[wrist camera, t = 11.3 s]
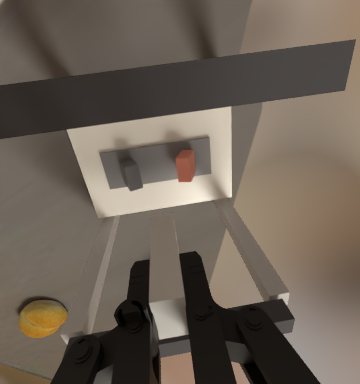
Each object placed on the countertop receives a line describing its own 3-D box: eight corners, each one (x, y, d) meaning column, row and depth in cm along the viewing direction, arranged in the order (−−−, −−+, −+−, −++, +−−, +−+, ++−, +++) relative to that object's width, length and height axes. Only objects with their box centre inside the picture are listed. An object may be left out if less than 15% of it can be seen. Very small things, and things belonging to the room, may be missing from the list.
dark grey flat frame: (322, 46, 10) (355, 39, 8) (280, 311, 19) (291, 332, 17) (-82, 99, 9) (-133, 102, 7) (77, 349, 18) (69, 375, 17)
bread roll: (75, 306, 45) (69, 325, 41) (53, 328, 47) (45, 348, 44) (37, 290, 42) (26, 310, 38) (15, 315, 44) (3, 335, 40)
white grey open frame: (220, 70, 28) (336, 45, 10) (224, 200, 37) (288, 305, 19) (66, 90, 27) (-97, 102, 9) (108, 219, 36) (66, 346, 18)
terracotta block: (193, 149, 27) (188, 158, 24) (195, 171, 28) (191, 182, 25) (181, 150, 27) (175, 158, 24) (184, 171, 28) (178, 182, 26)
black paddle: (130, 157, 27) (138, 164, 24) (136, 179, 28) (143, 187, 26) (118, 160, 26) (124, 167, 24) (124, 182, 28) (130, 191, 25)
